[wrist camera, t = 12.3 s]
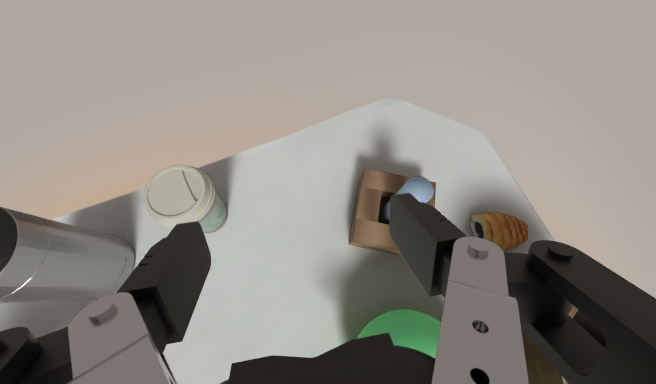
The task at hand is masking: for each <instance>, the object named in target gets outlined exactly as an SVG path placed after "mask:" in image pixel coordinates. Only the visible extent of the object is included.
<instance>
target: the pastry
mask: <svg viewBox="0 0 656 384" xmlns="http://www.w3.org/2000/svg"><path fill="white" fill-rule="evenodd" d="M470 225H471V229H472V232H473V234H474V237H478V238H482V239H486V240H488V241H491V242H492V243H494V244H496V245H497V246H499V247H500V248H501V249H502V251H505V250H508V249H512V248H514V247H516V246H518V245H519V244H521V243H524V242H525V241H526V240H527V239H528V231H527V228H528V227H527V225H526V224H525V223H524V222H523V221H521V220H519V219H517V218H516V217H514V216H509V215H508V214H501V213H498V212H495V213H491V212H484V213H480V214H473V215H472V216H471V222H470Z"/></svg>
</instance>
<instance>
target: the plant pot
mask: <svg viewBox="0 0 656 384" xmlns="http://www.w3.org/2000/svg"><path fill="white" fill-rule="evenodd" d="M569 316H570V317H571V318H573V319H574V320H575V321H576V322H577V323H578V324H579V325H580V326H581V327H583V328H584V329H585V330H586V331H587V332H588V333H589V334H590V335H591V336H592V337H594V338H595V339H596V340H597V341H598V342H599V343H600V344H601V345H602V346H604V347H606V339H605V336H604V334H603V333H602V331H601V330H600V328H599V327H598V326H597V325H596V324H595V323H594V322H592V321H591V320H590V319H589V318H588V317H587V316H585V315H584V314H583V313H582V312H581V311H580V310H578V309H577V308H576V307H575V306H574V305H573V307H572V309H571V311H570V313H569ZM521 331H522V339H523V346H524V353H525V360H526V367H527V374H528V382H529V384H568V382H567V381H566V380H565V379H564V378H563V377H562V375H561V374H560V373H559V372H558V371H557V370H556V368H555V367H554V366H553V365H552V364H551V363H550V361H549V360H548V359H547V358H546V357H545V356H544V355H543V353H542V352H541V351H540V350H539V349H538V348H537V346H536V345H535V344H534V343H533V342H532V341H531V339H530V338H529V337H528V336H527V335H526V334H525V333H524V331H523V330H522V329H521Z"/></svg>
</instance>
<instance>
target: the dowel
mask: <svg viewBox="0 0 656 384" xmlns="http://www.w3.org/2000/svg"><path fill="white" fill-rule="evenodd" d="M403 193H410V194H412V195H413V196H414V197H415V198H416V199H417V200H418V201H419V202H424V203H427V202H428V201H429V200H430V199H431V198H432V196H433V193H434V190H433V186H432V184H431V183H430V182H429V181H428V180H427V179H426V178H424V177H421V176H414V177H411V178H410V179H409V180H408V181H407V182H406V183H405V184H404V185H403V186H402V187H401V188H400V190H399V191H398V192H397V193H396V194H403ZM396 194H395V195H396ZM389 217H390V201H389V202H388V203H387V204H386V205H385V207H384V208H383V209H382V210H381V211H380V213H379V216H378V219H379V222H380V223H383V224H388V225H389Z"/></svg>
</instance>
